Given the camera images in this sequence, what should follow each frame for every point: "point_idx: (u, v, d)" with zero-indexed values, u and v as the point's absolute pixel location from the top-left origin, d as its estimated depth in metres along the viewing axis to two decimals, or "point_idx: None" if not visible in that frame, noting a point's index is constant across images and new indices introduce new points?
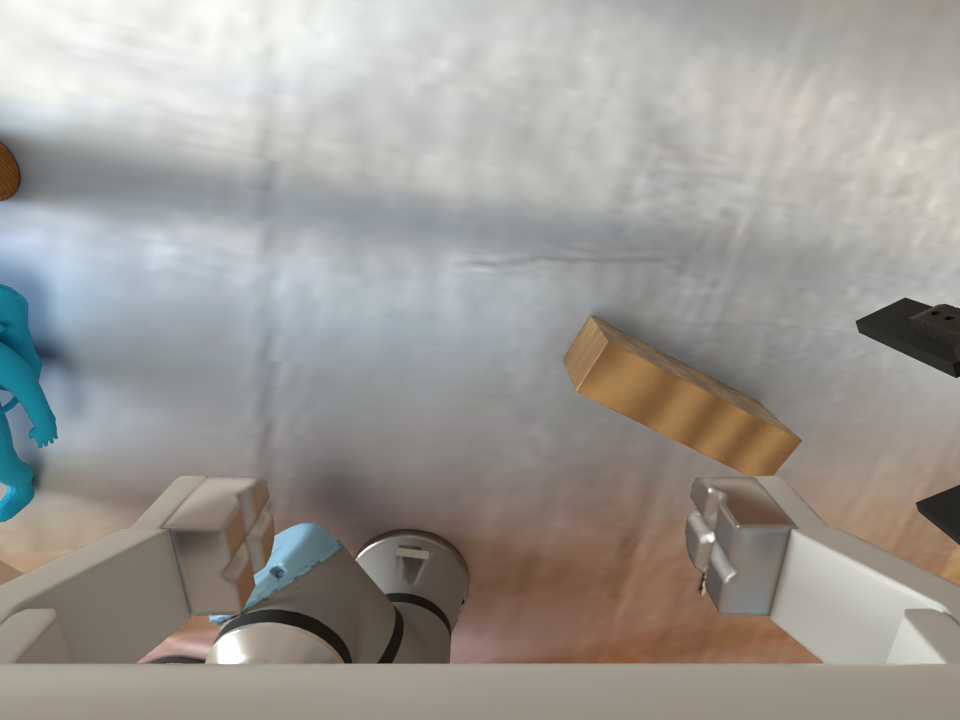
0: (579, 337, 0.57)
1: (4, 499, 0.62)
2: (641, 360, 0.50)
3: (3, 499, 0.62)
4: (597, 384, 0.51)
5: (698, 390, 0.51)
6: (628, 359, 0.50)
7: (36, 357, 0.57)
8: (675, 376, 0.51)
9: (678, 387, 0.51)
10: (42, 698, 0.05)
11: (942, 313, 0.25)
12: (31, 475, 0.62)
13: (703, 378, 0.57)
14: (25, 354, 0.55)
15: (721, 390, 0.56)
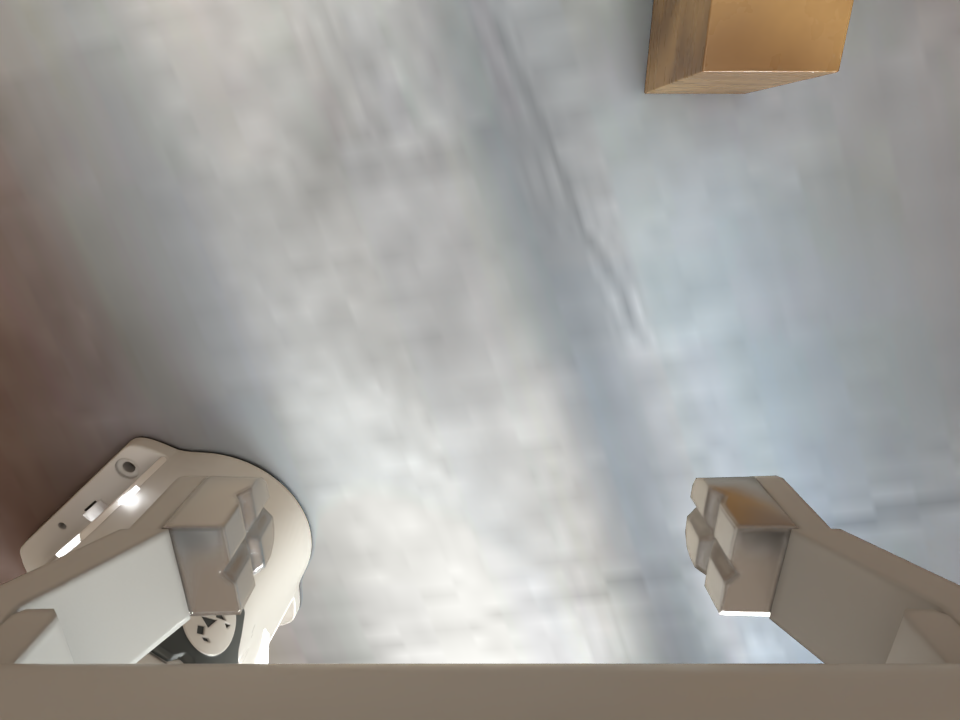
0: (694, 91, 0.30)
1: None
2: None
3: None
4: (809, 31, 0.22)
5: None
6: None
7: None
8: None
9: None
10: (40, 699, 0.05)
11: None
12: None
13: None
14: None
15: None
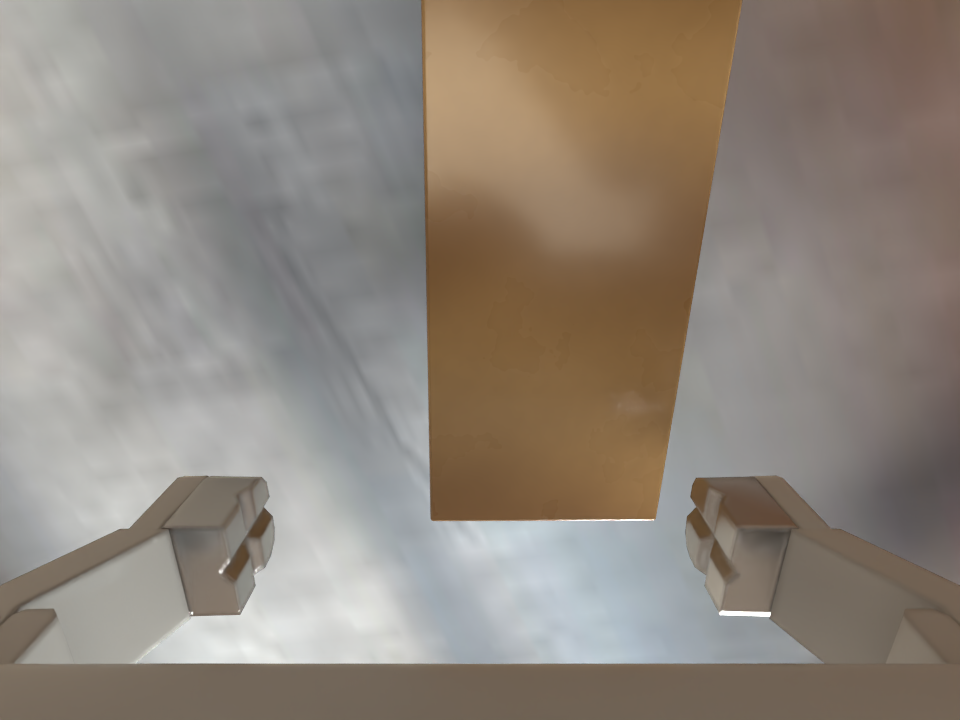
0: None
1: None
2: (436, 384, 0.12)
3: None
4: (601, 472, 0.13)
5: (437, 55, 0.10)
6: (458, 428, 0.13)
7: None
8: (429, 214, 0.11)
9: (470, 167, 0.11)
10: (42, 699, 0.05)
11: None
12: None
13: None
14: None
15: None
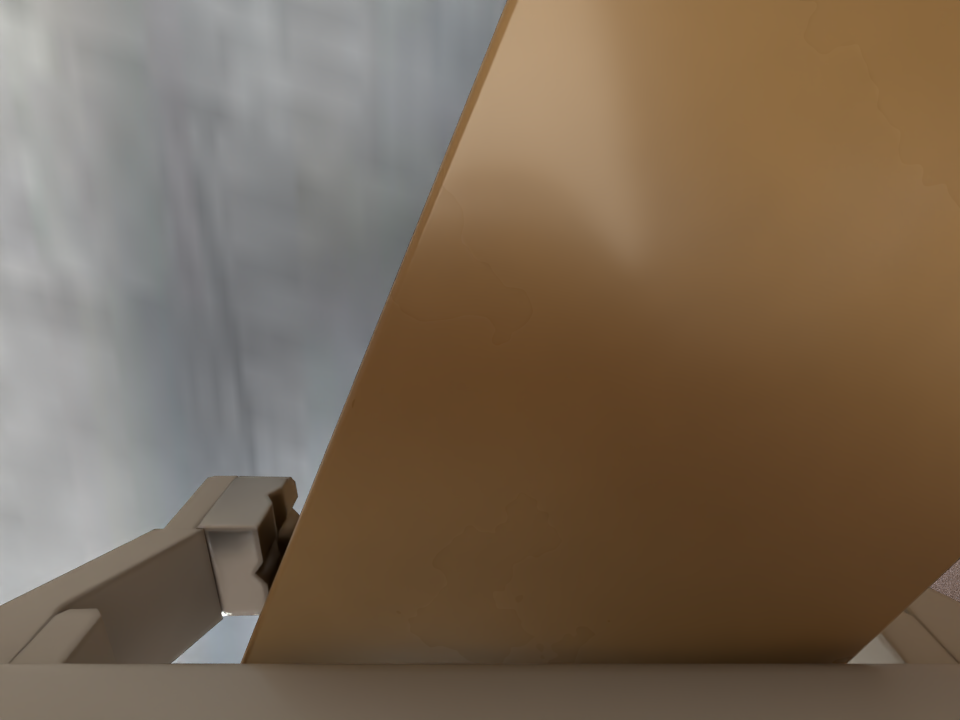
0: None
1: None
2: (277, 621, 0.05)
3: None
4: None
5: None
6: None
7: None
8: (403, 292, 0.04)
9: (552, 229, 0.04)
10: (42, 699, 0.05)
11: None
12: None
13: None
14: None
15: None
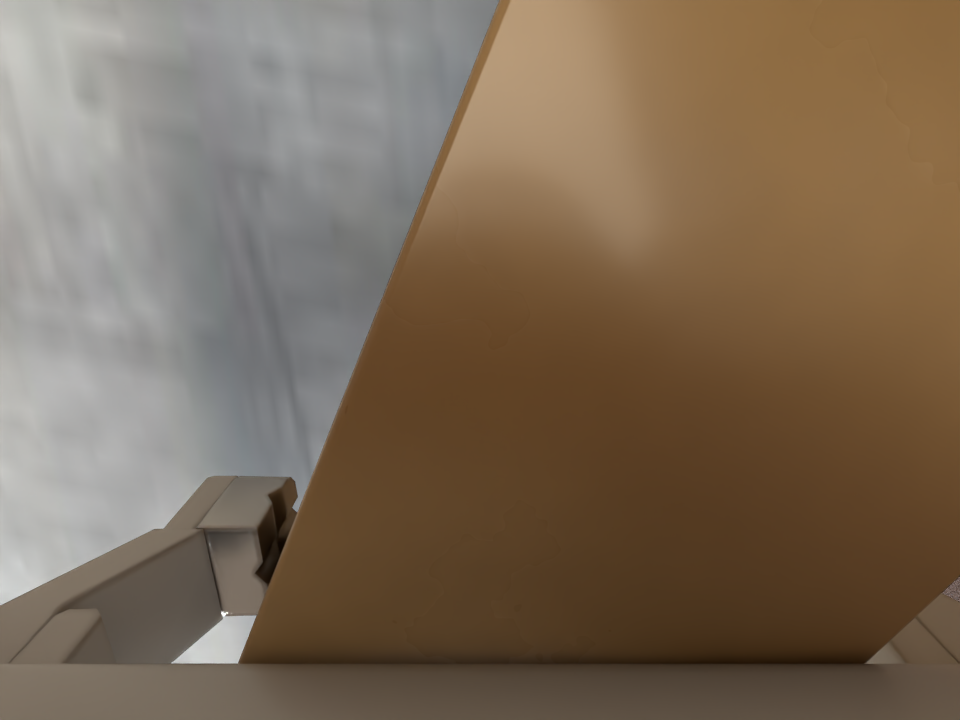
0: None
1: None
2: (270, 630, 0.05)
3: None
4: None
5: None
6: None
7: None
8: (397, 295, 0.04)
9: (550, 230, 0.04)
10: (40, 698, 0.05)
11: None
12: None
13: None
14: None
15: None
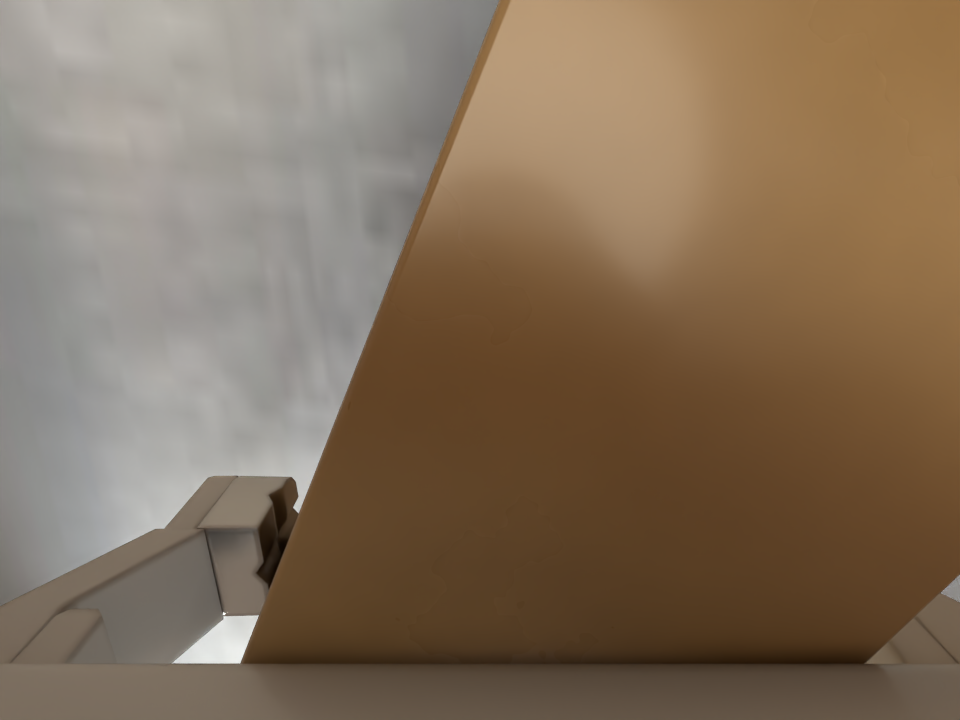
0: None
1: None
2: (274, 629, 0.05)
3: None
4: None
5: None
6: None
7: None
8: (399, 291, 0.04)
9: (551, 225, 0.04)
10: (41, 698, 0.05)
11: None
12: None
13: None
14: None
15: None
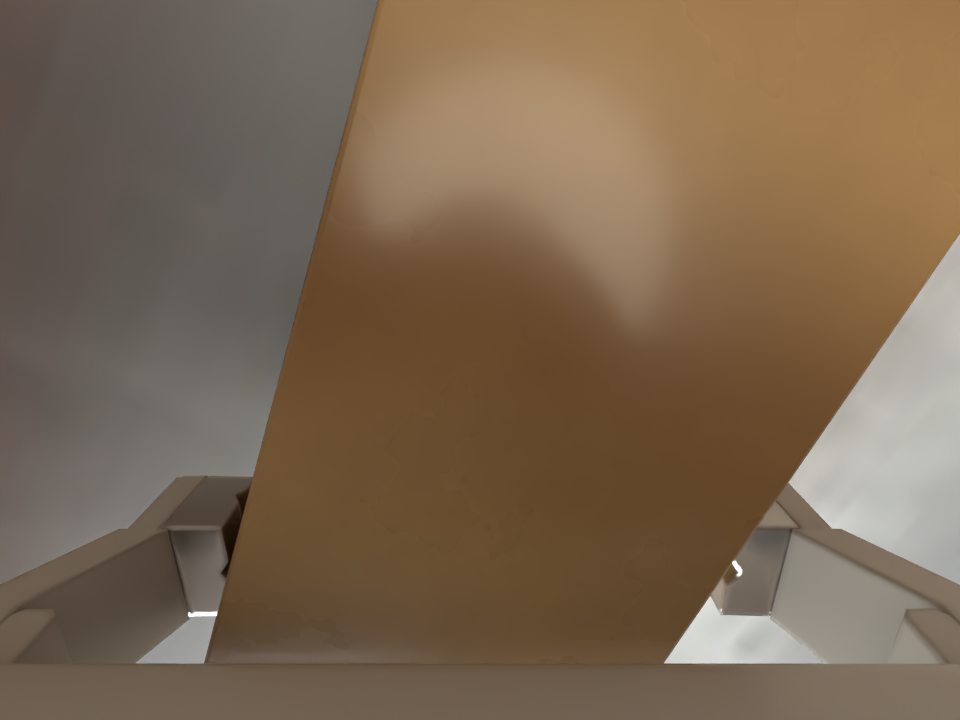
0: None
1: None
2: (258, 517, 0.06)
3: None
4: None
5: None
6: (278, 598, 0.07)
7: None
8: (334, 202, 0.05)
9: (447, 139, 0.05)
10: (42, 698, 0.05)
11: None
12: None
13: None
14: None
15: None
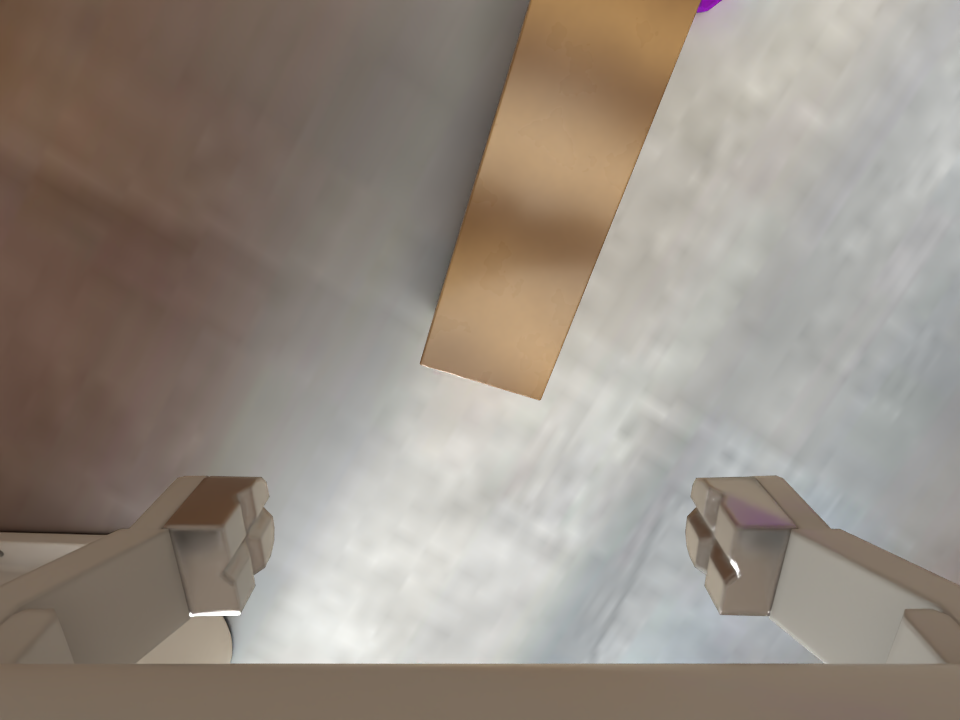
0: None
1: None
2: (448, 286, 0.23)
3: None
4: (519, 362, 0.24)
5: (500, 126, 0.21)
6: (451, 314, 0.23)
7: None
8: (472, 197, 0.21)
9: (499, 182, 0.21)
10: (41, 699, 0.05)
11: None
12: None
13: None
14: None
15: None
